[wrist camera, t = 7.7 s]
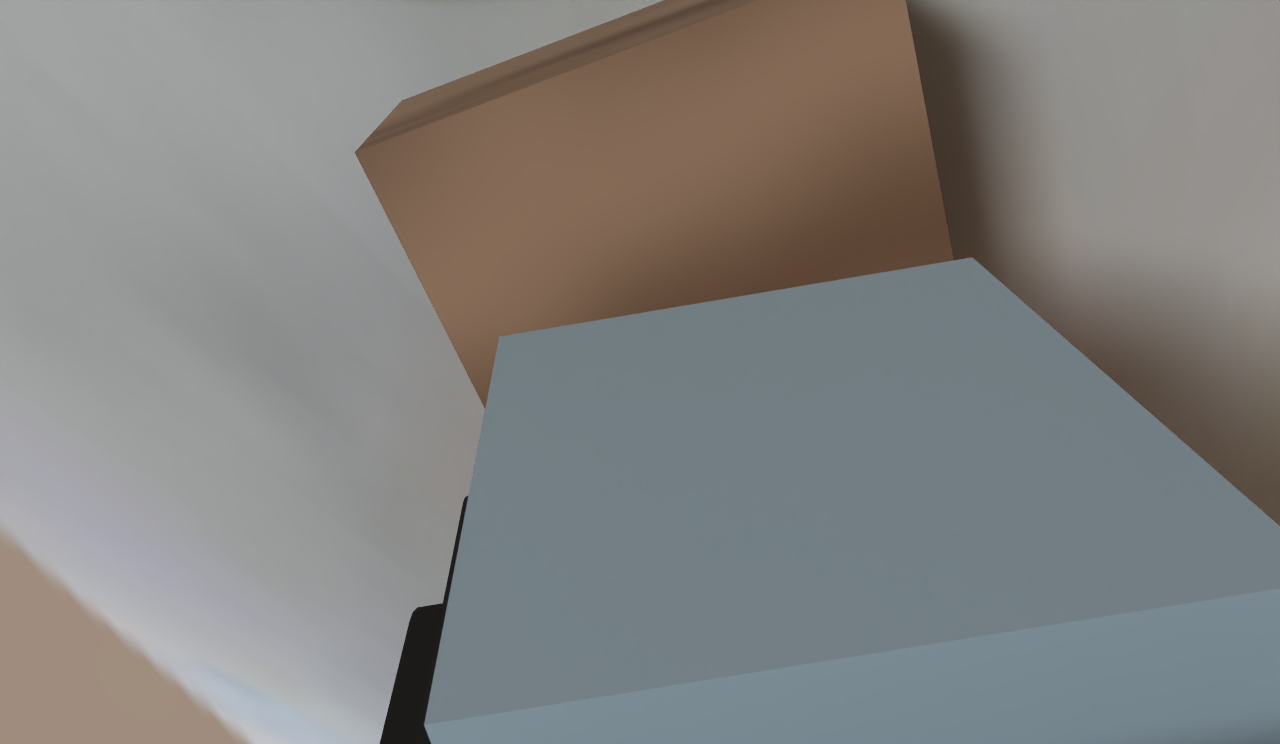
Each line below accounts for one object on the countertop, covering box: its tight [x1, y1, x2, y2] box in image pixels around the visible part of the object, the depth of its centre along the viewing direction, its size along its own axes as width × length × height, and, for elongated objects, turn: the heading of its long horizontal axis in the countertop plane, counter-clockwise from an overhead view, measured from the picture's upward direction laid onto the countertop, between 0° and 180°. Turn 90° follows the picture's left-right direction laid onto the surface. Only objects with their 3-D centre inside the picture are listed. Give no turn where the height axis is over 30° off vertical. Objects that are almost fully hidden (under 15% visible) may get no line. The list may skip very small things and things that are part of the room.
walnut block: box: [355, 0, 954, 408], centre depth 20 cm, size 10×10×5 cm
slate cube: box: [424, 257, 1280, 744], centre depth 10 cm, size 6×6×6 cm
